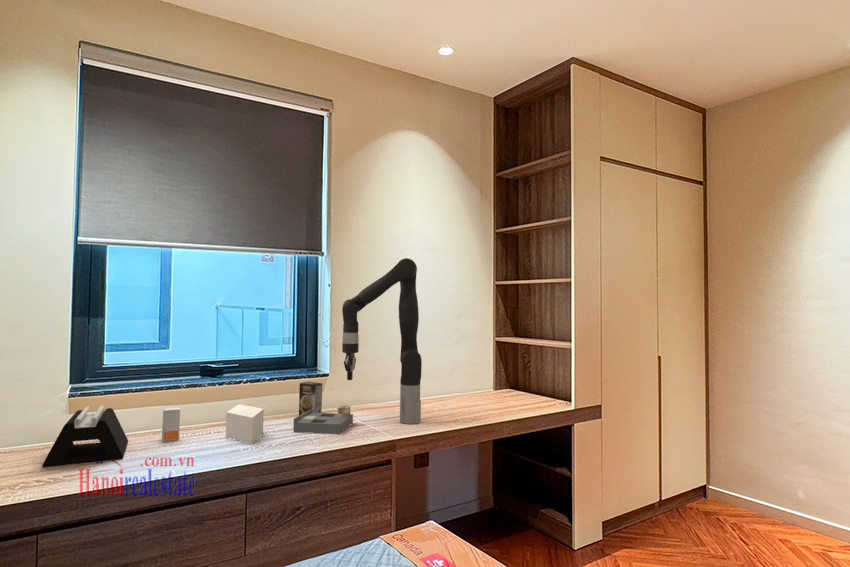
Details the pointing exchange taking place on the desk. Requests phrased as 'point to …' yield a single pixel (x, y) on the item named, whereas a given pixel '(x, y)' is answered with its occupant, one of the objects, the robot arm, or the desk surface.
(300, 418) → the plate
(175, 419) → the skincare box
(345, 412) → the block
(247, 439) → the beige rectangular block
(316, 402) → the coffee box
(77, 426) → the device stand
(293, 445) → the desk surface
